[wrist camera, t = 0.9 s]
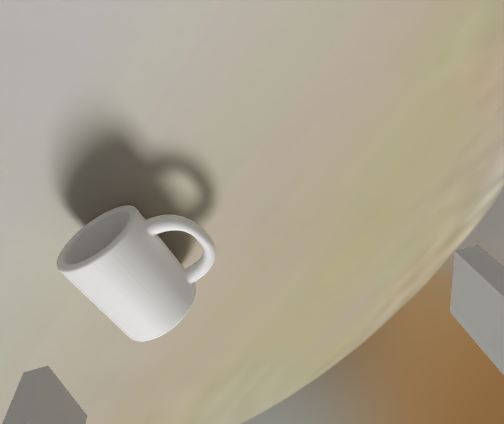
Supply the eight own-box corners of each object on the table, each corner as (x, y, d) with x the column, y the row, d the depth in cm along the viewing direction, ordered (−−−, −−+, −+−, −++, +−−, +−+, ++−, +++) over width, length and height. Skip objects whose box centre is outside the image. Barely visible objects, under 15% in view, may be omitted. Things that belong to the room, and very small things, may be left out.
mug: (131, 296, 41) (122, 356, 35) (68, 231, 36) (43, 286, 29) (228, 246, 40) (238, 298, 33) (177, 171, 35) (177, 214, 28)
